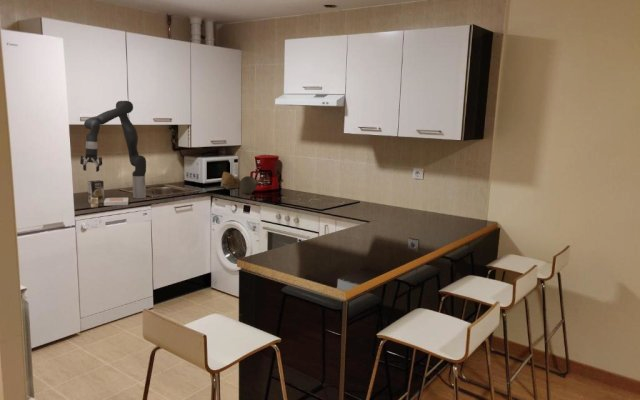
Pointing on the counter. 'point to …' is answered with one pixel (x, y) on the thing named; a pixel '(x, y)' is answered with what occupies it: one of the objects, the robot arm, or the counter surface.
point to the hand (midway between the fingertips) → (91, 171)
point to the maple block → (94, 202)
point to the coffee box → (96, 191)
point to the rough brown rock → (229, 181)
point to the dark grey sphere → (248, 184)
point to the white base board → (115, 201)
